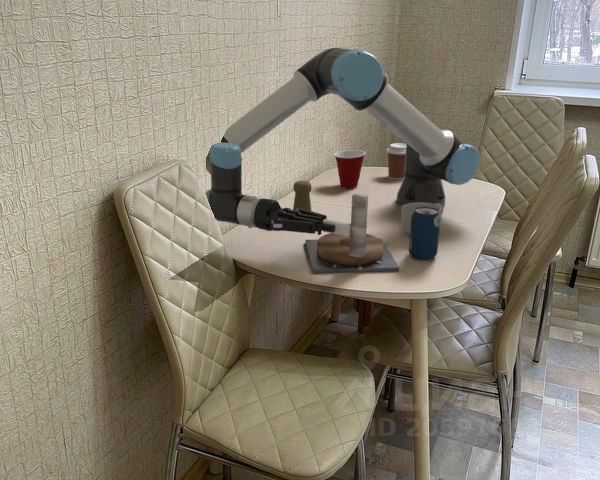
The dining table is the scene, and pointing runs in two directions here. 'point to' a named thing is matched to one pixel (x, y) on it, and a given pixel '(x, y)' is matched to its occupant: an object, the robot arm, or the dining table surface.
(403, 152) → the coffee cup
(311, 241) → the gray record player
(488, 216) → the dining table surface
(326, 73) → the robot arm
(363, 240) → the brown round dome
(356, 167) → the plastic cup
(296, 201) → the cork
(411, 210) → the teacup
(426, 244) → the soda can
